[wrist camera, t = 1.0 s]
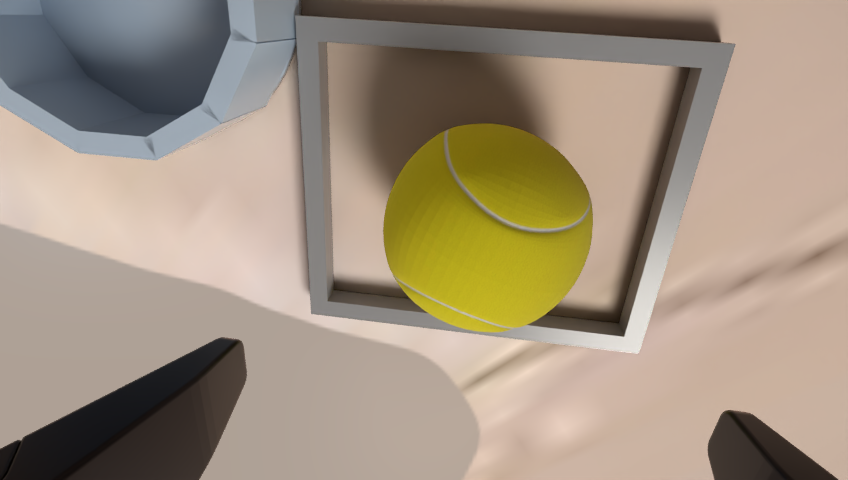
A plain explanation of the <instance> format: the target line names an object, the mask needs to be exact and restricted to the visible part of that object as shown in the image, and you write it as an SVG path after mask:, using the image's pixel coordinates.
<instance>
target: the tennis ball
mask: <svg viewBox="0 0 848 480" xmlns="http://www.w3.org/2000/svg"><path fill="white" fill-rule="evenodd" d="M592 227H593V214H592V203H591V199H590V196H589V192H588V190H587V188H586V185H585V184H584V182H583V180H582V179H581V177H580V176H579V174H578V173H577V172H576V170H575V169H574V168H573V166H572V165H571V164H570V163H569V161H568V160H567V159H566V158H565V157H564V156H563V155H562V154H561V153H560V152H559V151H558V150H556V149H555V148H554V147H552V146H551V145H550V144H548V143H547V142H545V141H544V140H542V139H540V138H539V137H537V136H535V135H533V134H531V133H529V132H526V131H523V130H521V129H518V128H514V127H511V126H506V125H501V124H491V123H480V124H468V125H461V126H456V127H453V128H450V129H448V130H445V131H443V132H441V133H439V134H438V135H436V136H435V137H433V138H432V139H431V140H429V141H428V142H427V143H426V144H424V145H423V146H422V147H421V148H420V149H419V150H418V151H417V152H416V153H415V154H414V155H413V156H412V157H411V158H410V159H409V161H408V162H407V163H406V165H405V166H404V167H403V169H402V170H401V172H400V174H399V175H398V177H397V179H396V181H395V183H394V185H393V187H392V190H391V192H390V195H389V198H388V202H387V206H386V210H385V217H384V228H383V234H384V246H385V252H386V257H387V261H388V264H389V267H390V270H391V272H392V273H393V276H394V278H395V279H396V281H397V283H398V284H399V286H400V287H401V288H402V290H403V291H404V292H405V293H406V294H407V296H408V297H409V298H410V299H411V300H412V301H413V302H414V303H416V304H417V305H418V306H419V307H421V308H422V309H423V310H425V311H426V312H428V313H429V314H431V315H432V316H434V317H436V318H437V319H439V320H442V321H444V322H446V323H448V324H451V325H453V326H456V327H459V328H463V329H467V330H472V331H479V332H504V331H508V330H511V329H513V328H518V327H522V326H525V325H527V324H530V323H532V322H534V321H536V320H537V319H539V318H541V317H542V316H544V315H545V314H546V313H548V312H549V311H550V310H551V309H553V308H554V307H555V306H556V305H557V304H558V303H559V302H560V301H561V300H562V299H563V298H564V297H565V296H566V294H567V293H568V292H569V291H570V289H571V288H572V286H573V285H574V284H575V282H576V280H577V279H578V277H579V275H580V273H581V271H582V269H583V267H584V264H585V262H586V259H587V256H588V253H589V249H590V245H591V238H592Z"/></svg>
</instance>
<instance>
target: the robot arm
mask: <svg viewBox="0 0 848 480" xmlns="http://www.w3.org/2000/svg"><path fill="white" fill-rule="evenodd" d="M246 376H247V370H246V362H245V353H244V346H243V343H242V341H240V340H238V339H232V338H225V337H221V338H218V339H216V340H214V341H212V342H210V343H208V344H206V345H204V346H202V347H200V348H198V349H196V350H194V351H192V352H190V353H188V354H186V355H184V356H182V357H180V358H178V359H176V360H175V361H172V362H170V363H168V364H167V365H165V366H163V367H161V368H159V369H157V370H155V371H153V372H151V373H149V374H147V375H145V376H143V377H141V378H139V379H137V380H135V381H133V382H131V383H129V384H127V385H125V386H123V387H122V388H119V389H117V390H115V391H113V392H111V393H109V394H107V395H105V396H104V397H102V398H100V399H98V400H96V401H94V402H92V403H90V404H88V405H86V406H84V407H82V408H80V409H78V410H76V411H74V412H72V413H70V414H68V415H66V416H64V417H62V418H60V419H58V420H56V421H54V422H52V423H50V424H48V425H46V426H44V427H42V428H40V429H38V430H36V431H34V432H32V433H31V434H29V435H27V436H25V437H23V439H22V441H20V440H17V441H15V442H13V443H11V444H9V445H7V446H5V447H3V448H1V449H0V480H199V479H200V477H201V475H202V474H203V472H204V470H205V468H206V466H207V465H208V463H209V461H210V459H211V458H212V455H213V453H214V452H215V449H216V447H217V445H218V443H219V441H220V439H221V436H222V434H223V432H224V430H225V427H226V425H227V423H228V421H229V418H230V416H231V414H232V412H233V409H234V407H235V405H236V403H237V400H238V398H239V396H240V394H241V391H242V389H243V387H244V385H245V381H246ZM708 456H709V460H710V464H711V468H712V472H713V476H714V479H715V480H838V479H837V478H836V477H834V476H833V475H832V474H830V473H829V472H828V471H827V470H825V469H824V468H823V467H821V466H820V465H819V464H817V463H816V462H815V461H813V460H812V459H811V458H809V457H808V456H807V455H805V454H804V453H803V452H802V451H800V450H799V449H798V448H796V447H795V446H794V445H792V444H791V443H790V442H788V441H787V440H786V439H784V438H783V437H782V436H780V435H779V434H778V433H777V432H775V431H774V430H773V429H771V428H770V427H769V426H767V425H766V424H765V423H763V422H762V421H761V420H759V419H758V418H757V417H755V416H754V415H753V414H750V413H747V412H740V411H733V410H726V411H724V412H723V413H722V414H721V416H720V418H719V420H718V422H717V425H716V427H715V429H714V431H713V433H712V436H711V438H710V440H709V443H708Z"/></svg>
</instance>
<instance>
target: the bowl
mask: <svg viewBox="0 0 848 480" xmlns="http://www.w3.org/2000/svg"><path fill="white" fill-rule="evenodd" d="M295 15H301V0H0V106H2V107H4V108H5V109H7V110H9V111H10V112H12V113H13V114H15V115H17V116H18V117H20V118H22V119H23V120H25V121H27V122H28V123H30V124H32V125H33V126H35V127H36V128H38V129H40V130H41V131H43V132H45V133H46V134H48V135H50V136H51V137H53V138H54V139H56V140H58V141H59V142H61V143H63V144H64V145H66V146H68V147H69V148H71V149H73V150H74V151H76V152H77V153H78V152H79V153H84V154H95V155H105V156H116V157H126V158H137V159H147V160H159V159H161V158H163V157H166V156H168V155H170V154H173V153H175V152H177V151H180V150H182V149H184V148H187V147H189V146H191V145H193V144H196V143H198V142H200V141H203V140H205V139H207V138H210V137H212V136H213V135H215V134H217V133H219V132H221V131H222V130H224V129H226V128H228V127H230V126H231V125H233V124H235V123H237V122H239V121H241V120H243V119H245V118H246V117H248V116H249V115H251V114H253V113H255V112H256V111H258V110H260V109H262V108H263V107H265V106H266V105H267V103H268V101H269V99H270V97H271V96H272V94H273V93H274V92H275V91H276V89H277V88H278V87H279V85H280V83H281V82H282V80H283V78H284V76H285V75H286V73H287V71H288V68H289V66H290V63H291V61H292V58H293V56H294V52H295V48H296V45H297V41H296V22H295Z"/></svg>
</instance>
